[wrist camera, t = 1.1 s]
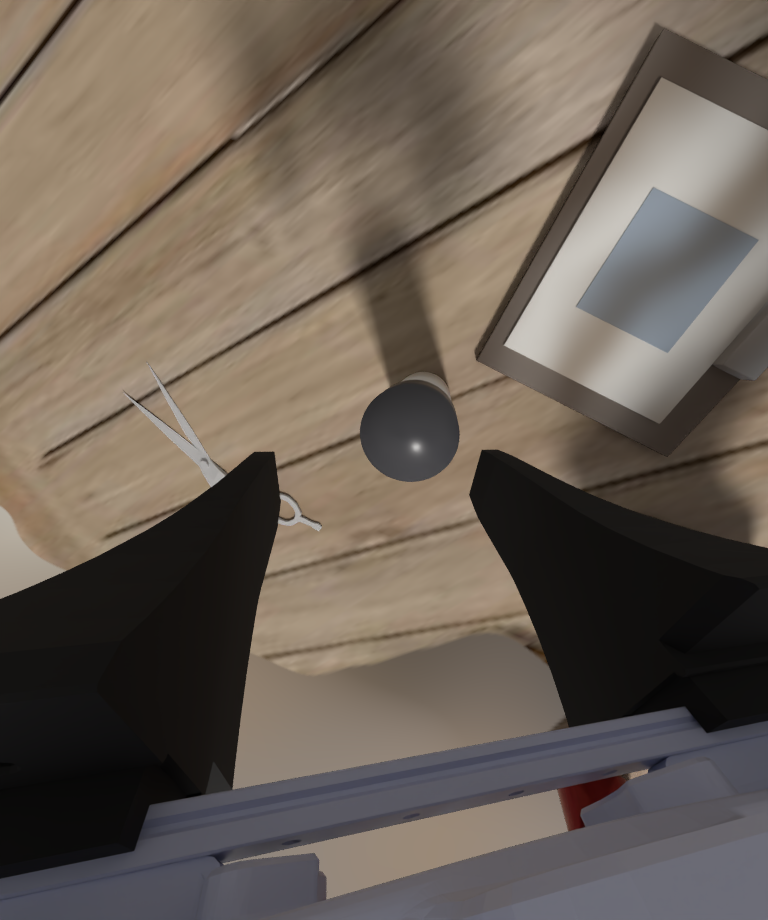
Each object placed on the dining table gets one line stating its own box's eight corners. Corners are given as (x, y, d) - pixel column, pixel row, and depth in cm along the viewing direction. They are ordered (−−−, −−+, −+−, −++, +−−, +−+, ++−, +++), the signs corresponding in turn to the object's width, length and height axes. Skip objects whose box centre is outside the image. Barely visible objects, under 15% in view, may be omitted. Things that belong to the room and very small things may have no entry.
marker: (463, 386, 21) (479, 414, 12) (434, 437, 23) (429, 497, 14) (409, 359, 21) (384, 366, 12) (384, 412, 23) (345, 454, 14)
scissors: (246, 573, 31) (97, 411, 27) (250, 568, 31) (106, 409, 28) (322, 528, 27) (164, 335, 23) (325, 523, 28) (172, 336, 24)
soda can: (579, 750, 31) (654, 972, 20) (646, 780, 31) (760, 1022, 20) (541, 782, 34) (589, 993, 23) (602, 810, 34) (681, 1036, 23)
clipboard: (920, 172, 14) (972, 153, 13) (661, 454, 20) (677, 461, 19) (655, 40, 14) (678, 7, 13) (476, 360, 20) (478, 360, 19)
